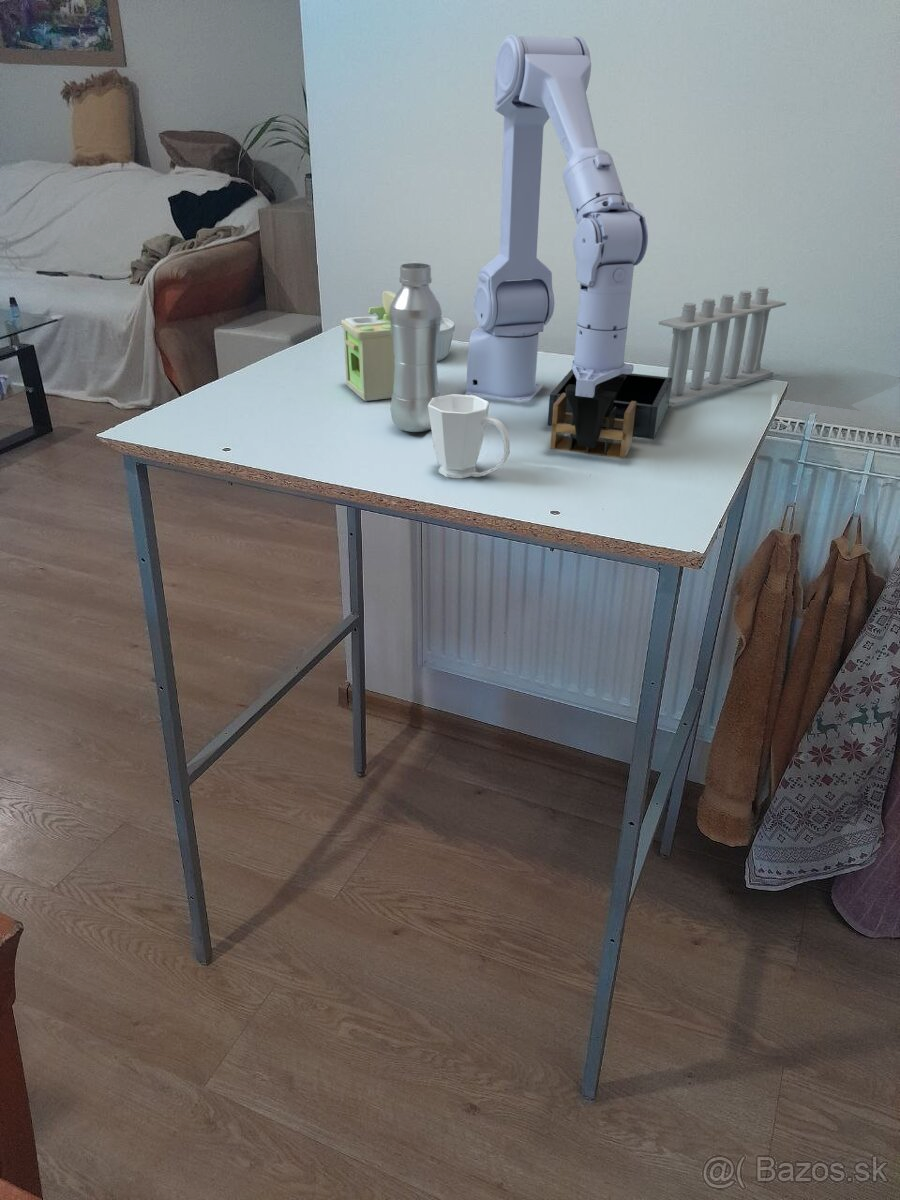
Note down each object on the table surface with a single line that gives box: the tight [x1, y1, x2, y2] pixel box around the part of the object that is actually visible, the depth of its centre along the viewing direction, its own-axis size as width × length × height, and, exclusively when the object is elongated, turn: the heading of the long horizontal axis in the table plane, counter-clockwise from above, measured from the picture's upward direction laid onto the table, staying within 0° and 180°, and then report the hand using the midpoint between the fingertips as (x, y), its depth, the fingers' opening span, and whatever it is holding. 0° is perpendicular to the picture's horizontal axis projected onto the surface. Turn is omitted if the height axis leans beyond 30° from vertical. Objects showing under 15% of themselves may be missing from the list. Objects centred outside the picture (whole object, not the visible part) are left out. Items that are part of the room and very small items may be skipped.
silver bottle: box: [389, 262, 443, 433], centre depth 115 cm, size 6×7×20 cm
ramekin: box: [437, 316, 456, 362], centre depth 149 cm, size 11×11×5 cm
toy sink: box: [340, 290, 397, 402], centre depth 131 cm, size 8×7×13 cm
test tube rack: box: [658, 286, 787, 406], centre depth 135 cm, size 25×4×13 cm, turn 132°
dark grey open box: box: [547, 368, 673, 440], centre depth 124 cm, size 14×14×5 cm
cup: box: [428, 393, 511, 480], centre depth 105 cm, size 7×10×8 cm
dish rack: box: [549, 393, 636, 459], centre depth 113 cm, size 9×5×6 cm, turn 71°
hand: (591, 438), depth 114 cm, fingers closed on dish rack, 5 cm apart
